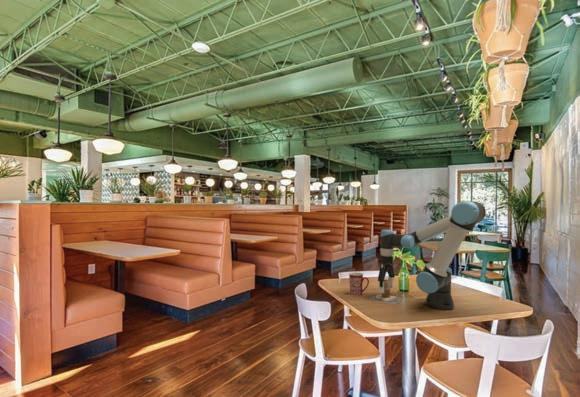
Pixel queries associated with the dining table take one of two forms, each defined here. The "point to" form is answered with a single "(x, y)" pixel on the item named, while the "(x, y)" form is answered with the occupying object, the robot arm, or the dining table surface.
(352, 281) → the mug
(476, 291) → the dining table surface
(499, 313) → the dining table surface
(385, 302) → the mat
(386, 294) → the lid
